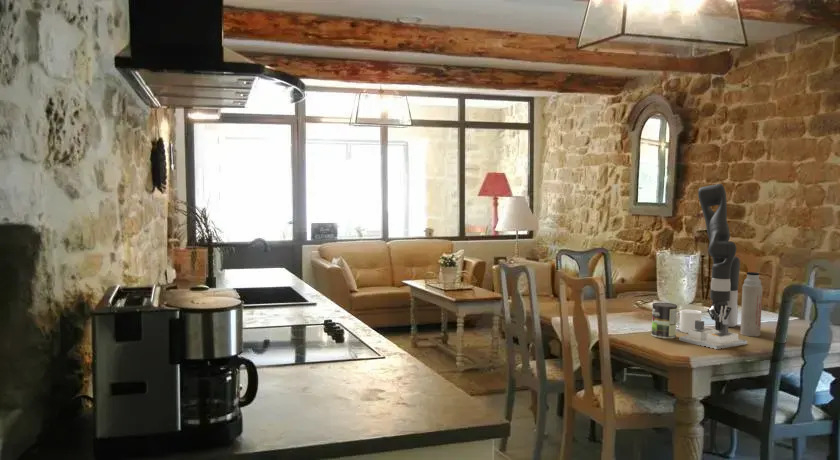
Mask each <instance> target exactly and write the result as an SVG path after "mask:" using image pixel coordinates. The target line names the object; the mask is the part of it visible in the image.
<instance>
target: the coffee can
mask: <svg viewBox="0 0 840 460" xmlns="http://www.w3.org/2000/svg"><path fill="white" fill-rule="evenodd" d="M651 306H652V314H651V333H650V334H651V336H652V337H654V338H659V339H668V340H669V339H675V338H676V337H677V336H676V333H677V330H676V329H677V327H676V325H677V316H678V314H677V312H678V305H677V304H675V303H672V302H658V301H657V302H653V303H652V305H651Z"/></svg>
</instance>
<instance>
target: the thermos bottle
mask: <svg viewBox="0 0 840 460" xmlns="http://www.w3.org/2000/svg"><path fill="white" fill-rule="evenodd" d="M743 282H744V283H743V284H742V287H741V288H742V291H741V293H742V294H741V310H740V311H741V315H740V317H741V318H740V335H741V336H742V335H743V336H746V337H760V336H761V326H762V323H761V322H762V308H763V307H762V303H763V301H762V300H763V285H762V280H761V279H760V273H759V272H754V271H749V272H746V278H745V279H744V281H743Z"/></svg>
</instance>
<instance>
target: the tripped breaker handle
mask: <svg viewBox="0 0 840 460" xmlns="http://www.w3.org/2000/svg"><path fill="white" fill-rule="evenodd" d="M729 328H730V327H729V325H728V324H724V323H723V328H722V330H721V331H719V332H721V333H728V332H729Z"/></svg>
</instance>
